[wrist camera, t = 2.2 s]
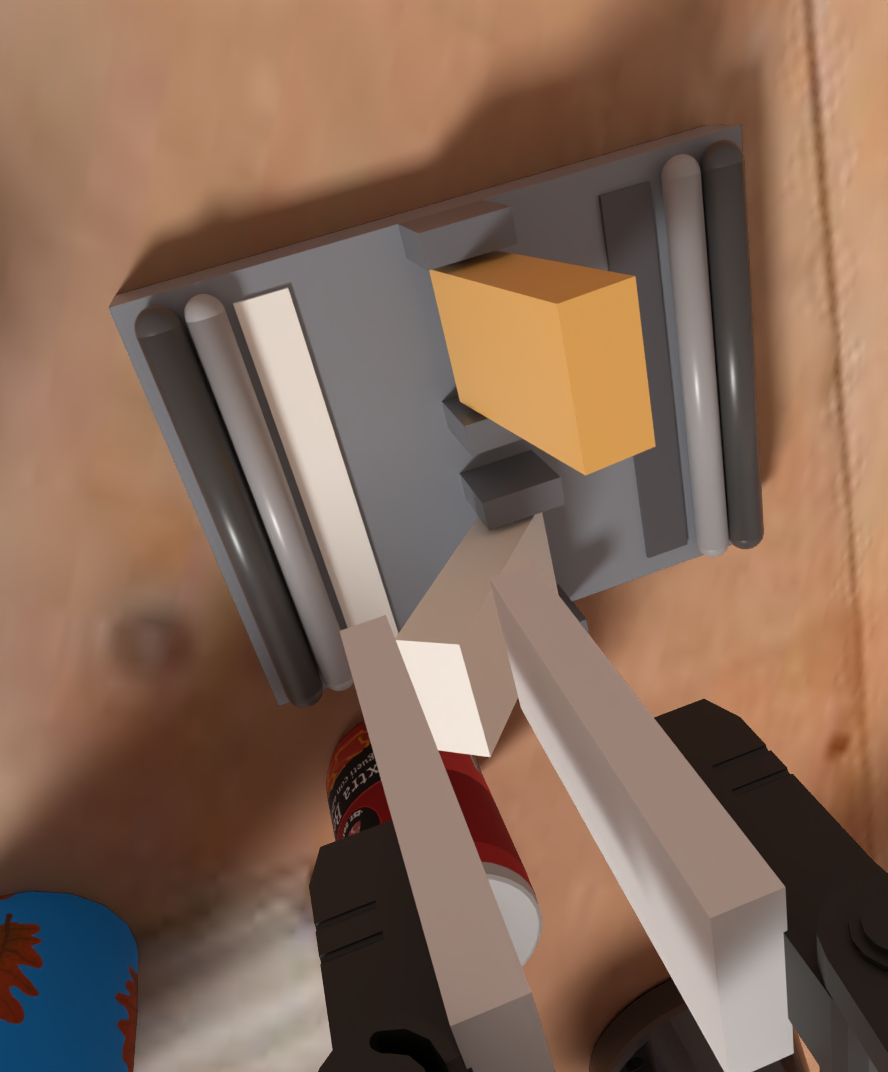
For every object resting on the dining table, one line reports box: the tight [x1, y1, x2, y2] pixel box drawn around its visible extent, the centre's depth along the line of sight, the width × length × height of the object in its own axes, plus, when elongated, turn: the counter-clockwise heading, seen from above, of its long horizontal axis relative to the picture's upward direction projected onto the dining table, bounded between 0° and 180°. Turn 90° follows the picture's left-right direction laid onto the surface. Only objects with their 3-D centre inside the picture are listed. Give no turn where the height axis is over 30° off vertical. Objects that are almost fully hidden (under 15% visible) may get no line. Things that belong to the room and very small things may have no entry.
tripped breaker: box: [429, 250, 655, 476], centre depth 27 cm, size 5×2×10 cm, turn 13°
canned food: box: [326, 721, 542, 967], centre depth 39 cm, size 8×8×11 cm
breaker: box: [395, 512, 558, 757], centre depth 32 cm, size 5×2×10 cm
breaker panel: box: [109, 125, 764, 708], centre depth 34 cm, size 18×24×6 cm
